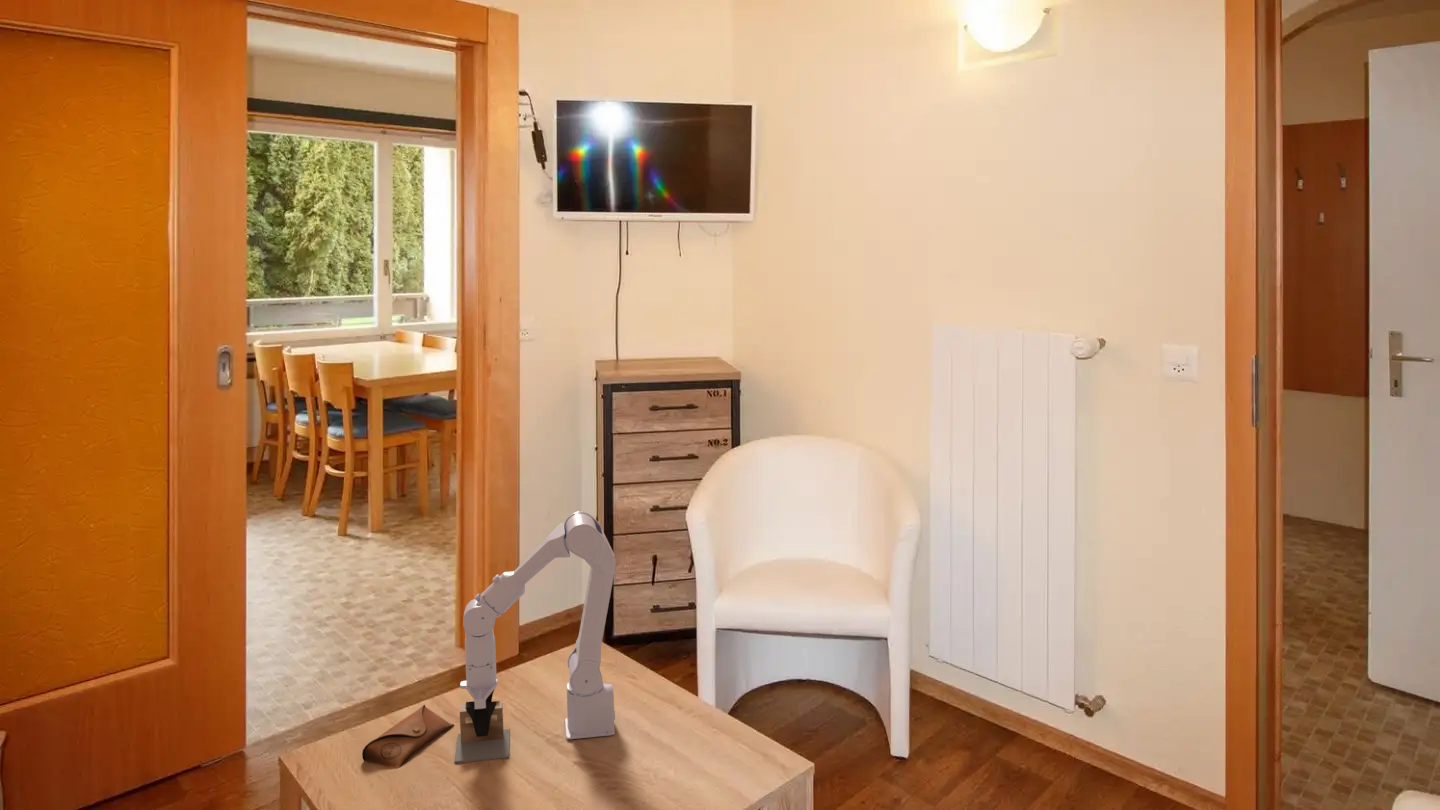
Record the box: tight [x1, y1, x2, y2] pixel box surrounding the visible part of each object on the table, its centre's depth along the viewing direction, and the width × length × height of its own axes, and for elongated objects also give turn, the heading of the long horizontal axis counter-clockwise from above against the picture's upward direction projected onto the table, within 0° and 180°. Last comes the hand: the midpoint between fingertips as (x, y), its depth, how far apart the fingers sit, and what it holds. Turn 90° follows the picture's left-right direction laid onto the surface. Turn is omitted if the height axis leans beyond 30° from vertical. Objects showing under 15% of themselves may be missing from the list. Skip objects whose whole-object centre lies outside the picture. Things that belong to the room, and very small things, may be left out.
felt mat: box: [453, 728, 511, 764], centre depth 177 cm, size 10×10×1 cm
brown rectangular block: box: [459, 700, 504, 743], centre depth 180 cm, size 8×3×6 cm, turn 102°
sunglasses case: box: [361, 704, 455, 769], centre depth 179 cm, size 18×7×7 cm, turn 160°
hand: (483, 725), depth 180 cm, fingers open, 7 cm apart
